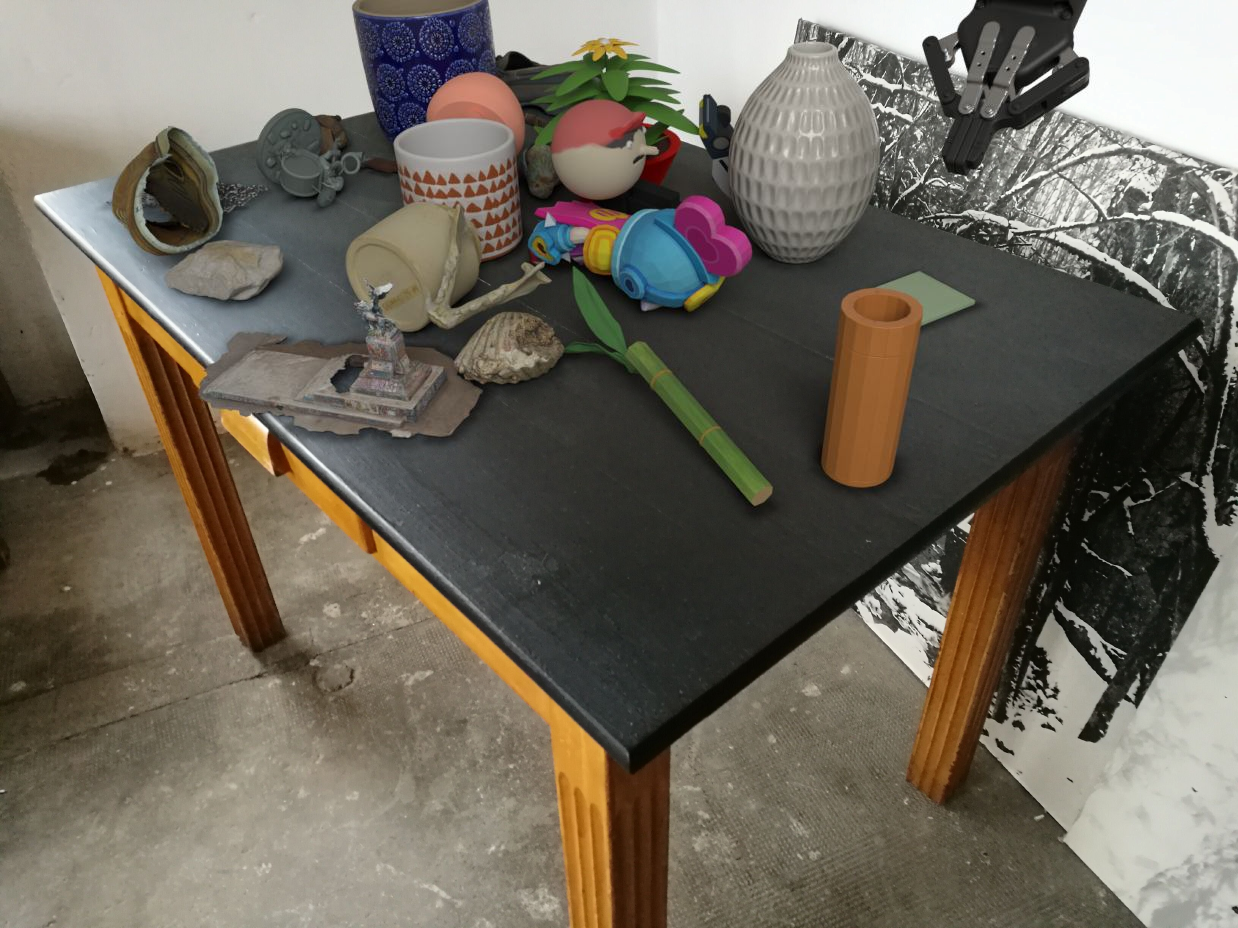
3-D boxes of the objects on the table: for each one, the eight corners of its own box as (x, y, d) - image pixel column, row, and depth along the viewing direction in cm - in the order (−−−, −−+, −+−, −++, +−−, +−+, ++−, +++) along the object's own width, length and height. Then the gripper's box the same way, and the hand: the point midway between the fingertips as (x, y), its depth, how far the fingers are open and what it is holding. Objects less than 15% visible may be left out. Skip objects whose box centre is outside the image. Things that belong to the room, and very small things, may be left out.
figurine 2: (273, 112, 139) (321, 97, 144) (281, 141, 142) (328, 126, 147) (326, 131, 132) (375, 115, 137) (333, 161, 134) (381, 145, 139)
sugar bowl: (303, 219, 92) (396, 163, 102) (330, 313, 99) (415, 252, 109) (420, 246, 87) (507, 185, 96) (440, 344, 94) (519, 277, 104)
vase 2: (533, 220, 116) (525, 118, 108) (508, 269, 106) (498, 161, 97) (430, 215, 118) (414, 114, 110) (395, 263, 107) (375, 156, 99)
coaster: (918, 274, 101) (919, 270, 100) (974, 304, 95) (975, 300, 95) (863, 295, 98) (864, 291, 97) (918, 327, 92) (919, 323, 92)
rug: (268, 184, 126) (270, 191, 127) (153, 173, 132) (156, 180, 132) (223, 212, 119) (225, 218, 120) (104, 199, 124) (106, 205, 125)
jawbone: (547, 297, 94) (567, 238, 88) (491, 376, 86) (510, 316, 80) (442, 243, 94) (455, 180, 88) (376, 316, 85) (386, 252, 79)
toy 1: (649, 215, 94) (635, 117, 88) (547, 214, 98) (527, 121, 92) (679, 177, 101) (669, 84, 95) (583, 177, 105) (566, 89, 99)
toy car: (716, 121, 101) (677, 139, 104) (778, 207, 113) (742, 222, 116) (716, 89, 104) (678, 107, 106) (777, 177, 115) (742, 191, 118)
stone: (231, 254, 111) (165, 296, 106) (213, 214, 108) (143, 255, 102) (309, 277, 105) (243, 323, 99) (293, 235, 102) (224, 281, 96)
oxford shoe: (231, 166, 125) (175, 218, 128) (167, 109, 119) (108, 164, 121) (217, 262, 105) (150, 321, 107) (138, 199, 98) (68, 264, 101)
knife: (503, 213, 119) (524, 194, 122) (501, 205, 118) (522, 186, 121) (345, 177, 130) (367, 161, 133) (342, 170, 129) (365, 153, 132)
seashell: (486, 330, 79) (419, 360, 86) (526, 399, 81) (458, 423, 88) (556, 281, 87) (490, 312, 94) (592, 346, 89) (525, 371, 96)
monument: (156, 401, 87) (109, 281, 79) (253, 322, 98) (220, 212, 90) (441, 457, 80) (421, 332, 72) (510, 366, 91) (499, 249, 83)
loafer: (481, 83, 160) (473, 26, 154) (626, 105, 148) (623, 45, 142) (443, 102, 153) (433, 44, 147) (591, 127, 141) (587, 65, 135)
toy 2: (701, 276, 104) (595, 234, 110) (717, 257, 106) (612, 216, 111) (700, 220, 97) (587, 178, 103) (718, 200, 99) (605, 160, 105)
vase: (827, 212, 114) (848, 19, 99) (892, 269, 101) (927, 59, 87) (705, 232, 110) (709, 37, 96) (757, 294, 98) (770, 81, 84)
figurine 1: (317, 168, 132) (376, 208, 129) (255, 190, 125) (317, 233, 122) (317, 99, 125) (380, 140, 122) (252, 119, 118) (317, 163, 115)
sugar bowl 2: (401, 120, 111) (422, 70, 116) (472, 203, 120) (488, 153, 126) (479, 81, 105) (497, 30, 110) (547, 171, 114) (561, 120, 120)
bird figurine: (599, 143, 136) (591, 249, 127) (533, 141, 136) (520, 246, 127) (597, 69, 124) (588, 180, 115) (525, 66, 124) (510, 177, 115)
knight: (543, 310, 109) (742, 355, 89) (486, 219, 100) (692, 246, 80) (603, 244, 113) (806, 272, 93) (553, 150, 104) (766, 159, 84)
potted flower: (603, 156, 131) (595, 2, 118) (749, 196, 118) (757, 28, 105) (481, 215, 117) (457, 48, 104) (631, 268, 104) (624, 84, 91)
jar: (858, 435, 79) (883, 280, 69) (907, 471, 75) (940, 312, 66) (806, 458, 77) (824, 302, 67) (853, 496, 73) (880, 336, 63)
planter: (514, 164, 130) (496, 7, 117) (384, 181, 127) (350, 22, 114) (497, 122, 144) (479, -22, 131) (380, 136, 141) (350, -10, 128)
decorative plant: (723, 504, 69) (538, 282, 85) (721, 558, 76) (550, 343, 92) (788, 467, 71) (594, 256, 87) (780, 524, 77) (602, 318, 93)
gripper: (957, -84, 68) (863, 130, 69) (1147, -71, 62) (1042, 165, 62) (969, -21, 75) (883, 174, 75) (1142, -3, 68) (1047, 210, 69)
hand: (955, 170), depth 69 cm, fingers closed
